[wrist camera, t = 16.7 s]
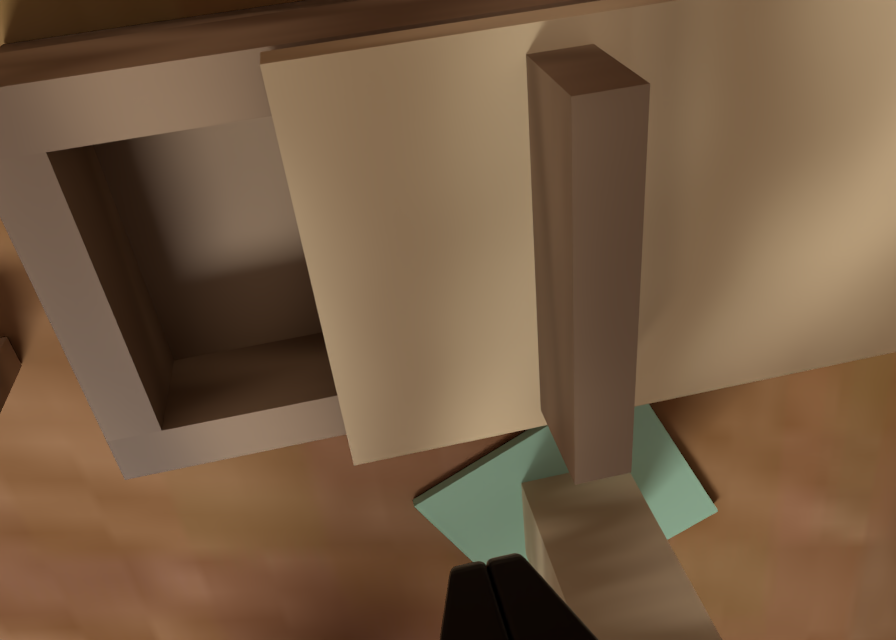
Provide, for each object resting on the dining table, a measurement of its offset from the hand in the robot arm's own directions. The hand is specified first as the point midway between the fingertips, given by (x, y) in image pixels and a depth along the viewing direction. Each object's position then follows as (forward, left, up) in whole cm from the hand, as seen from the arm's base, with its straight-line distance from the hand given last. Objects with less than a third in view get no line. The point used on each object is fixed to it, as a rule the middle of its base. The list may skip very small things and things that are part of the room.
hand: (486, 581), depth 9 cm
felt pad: (-1, -14, -12) cm, 18 cm away
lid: (+5, -3, -8) cm, 10 cm away
